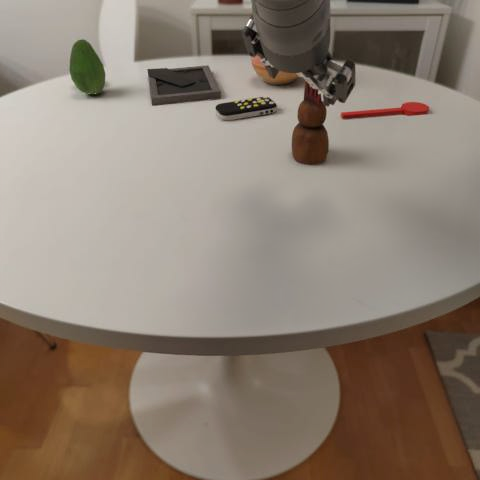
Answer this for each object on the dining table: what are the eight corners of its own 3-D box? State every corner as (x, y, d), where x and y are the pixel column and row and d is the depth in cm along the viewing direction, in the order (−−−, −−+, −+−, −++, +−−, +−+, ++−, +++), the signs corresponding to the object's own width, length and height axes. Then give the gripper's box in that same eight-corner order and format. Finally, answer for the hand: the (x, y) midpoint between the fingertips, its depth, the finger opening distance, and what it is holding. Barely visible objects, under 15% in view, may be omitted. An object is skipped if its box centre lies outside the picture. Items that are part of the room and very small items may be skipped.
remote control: (214, 112, 100) (213, 103, 98) (268, 103, 103) (268, 94, 101) (222, 122, 95) (222, 112, 94) (278, 113, 98) (279, 103, 97)
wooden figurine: (286, 159, 82) (290, 71, 72) (318, 156, 82) (325, 67, 72) (297, 177, 77) (302, 84, 67) (330, 173, 77) (340, 81, 67)
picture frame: (148, 77, 120) (152, 105, 104) (147, 69, 118) (150, 96, 103) (208, 71, 122) (221, 98, 106) (208, 63, 120) (220, 89, 105)
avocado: (100, 86, 115) (89, 33, 107) (114, 94, 111) (103, 39, 103) (70, 94, 112) (56, 39, 104) (83, 102, 107) (69, 46, 99)
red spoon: (421, 105, 99) (422, 100, 98) (432, 115, 95) (433, 110, 94) (337, 112, 97) (338, 107, 97) (345, 122, 93) (346, 117, 93)
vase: (240, 81, 115) (237, 0, 103) (278, 69, 121) (279, -9, 110) (279, 94, 107) (281, 7, 95) (317, 80, 114) (323, -3, 102)
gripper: (375, 12, 44) (363, 83, 60) (251, -46, 47) (272, 37, 63) (334, 82, 45) (333, 134, 61) (215, 21, 48) (244, 87, 63)
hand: (302, 85), depth 62 cm, fingers open, 8 cm apart
